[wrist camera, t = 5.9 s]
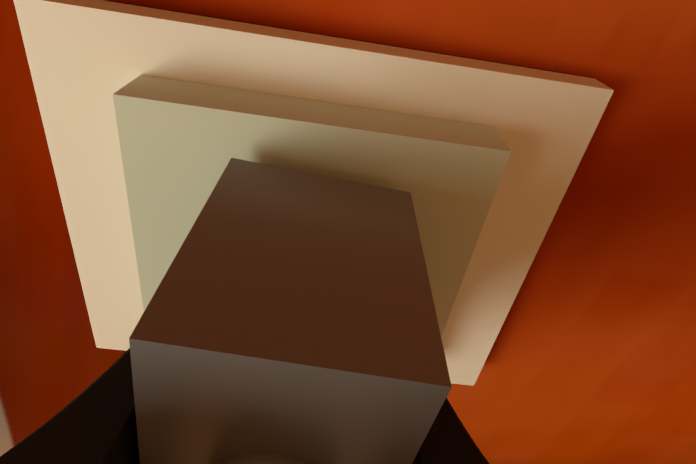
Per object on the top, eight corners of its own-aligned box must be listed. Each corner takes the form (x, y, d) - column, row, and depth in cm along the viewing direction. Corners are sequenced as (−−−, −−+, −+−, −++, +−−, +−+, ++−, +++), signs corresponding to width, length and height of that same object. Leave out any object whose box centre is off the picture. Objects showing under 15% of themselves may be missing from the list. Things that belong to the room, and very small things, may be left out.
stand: (467, 363, 21) (483, 422, 18) (109, 326, 19) (74, 384, 17) (594, 78, 14) (650, 112, 11) (39, -10, 12) (-40, 5, 10)
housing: (410, 192, 12) (462, 438, 6) (353, 369, 15) (352, 623, 10) (230, 157, 11) (100, 387, 5) (218, 348, 15) (132, 601, 9)
